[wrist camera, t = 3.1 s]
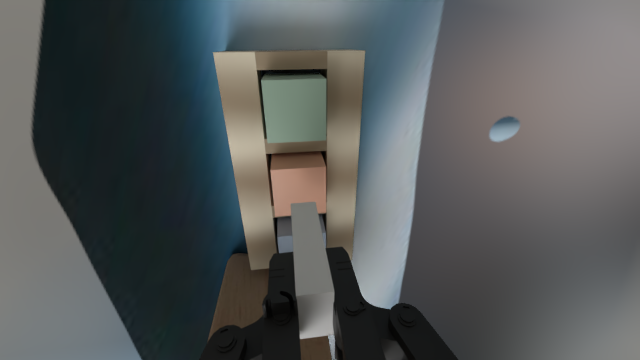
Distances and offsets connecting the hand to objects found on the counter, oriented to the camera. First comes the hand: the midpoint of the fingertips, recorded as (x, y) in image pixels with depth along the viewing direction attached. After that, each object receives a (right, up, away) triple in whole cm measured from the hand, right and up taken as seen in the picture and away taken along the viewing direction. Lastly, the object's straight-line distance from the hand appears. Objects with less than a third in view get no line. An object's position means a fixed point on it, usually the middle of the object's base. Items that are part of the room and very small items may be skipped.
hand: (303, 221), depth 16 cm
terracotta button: (-1, +3, +7) cm, 8 cm away
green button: (-1, +9, +4) cm, 10 cm away
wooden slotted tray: (-1, +4, +9) cm, 10 cm away
